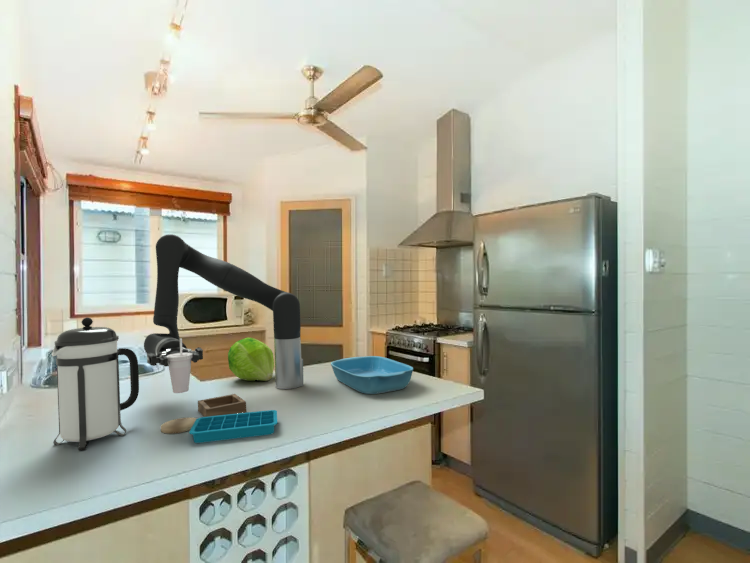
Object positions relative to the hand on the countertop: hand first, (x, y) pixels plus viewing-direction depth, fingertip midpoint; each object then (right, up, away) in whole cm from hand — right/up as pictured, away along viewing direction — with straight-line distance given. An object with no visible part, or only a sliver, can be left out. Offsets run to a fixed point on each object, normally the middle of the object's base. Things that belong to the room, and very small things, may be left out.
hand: (181, 360), depth 106 cm
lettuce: (+3, -17, +51) cm, 54 cm away
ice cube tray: (+15, -18, -3) cm, 24 cm away
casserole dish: (+49, -16, +40) cm, 65 cm away
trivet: (-1, -18, +1) cm, 18 cm away
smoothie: (-1, -9, +2) cm, 9 cm away
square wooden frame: (+6, -17, +13) cm, 22 cm away
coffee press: (-19, -18, -4) cm, 27 cm away
